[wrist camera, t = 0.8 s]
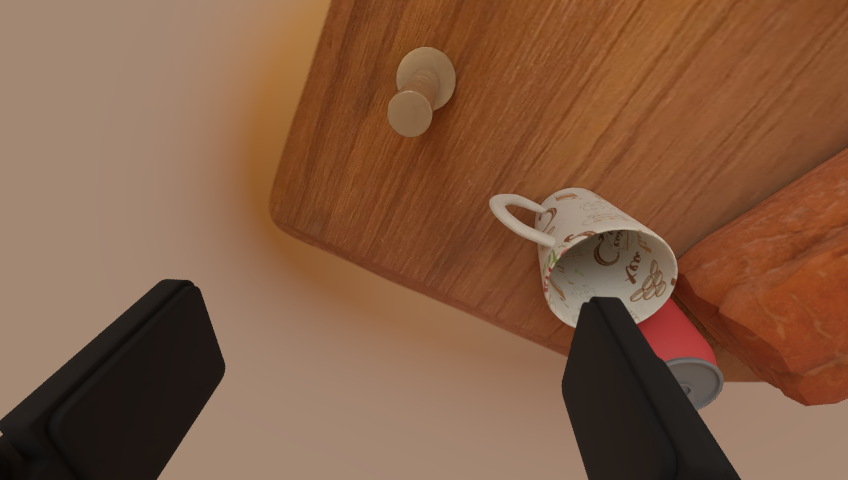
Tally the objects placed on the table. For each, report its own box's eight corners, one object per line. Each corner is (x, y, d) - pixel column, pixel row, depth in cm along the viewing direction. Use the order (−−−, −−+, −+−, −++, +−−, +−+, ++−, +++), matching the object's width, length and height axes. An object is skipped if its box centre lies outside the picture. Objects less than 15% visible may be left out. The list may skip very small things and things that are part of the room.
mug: (583, 271, 36) (625, 347, 28) (462, 224, 35) (466, 289, 26) (638, 195, 33) (708, 256, 24) (505, 138, 31) (526, 181, 22)
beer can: (598, 324, 39) (653, 432, 29) (567, 281, 37) (614, 380, 27) (663, 294, 37) (747, 398, 27) (633, 246, 35) (713, 339, 24)
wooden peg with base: (386, 81, 29) (340, 118, 17) (423, 32, 28) (402, 34, 15) (429, 121, 31) (415, 181, 18) (467, 76, 29) (480, 110, 17)
